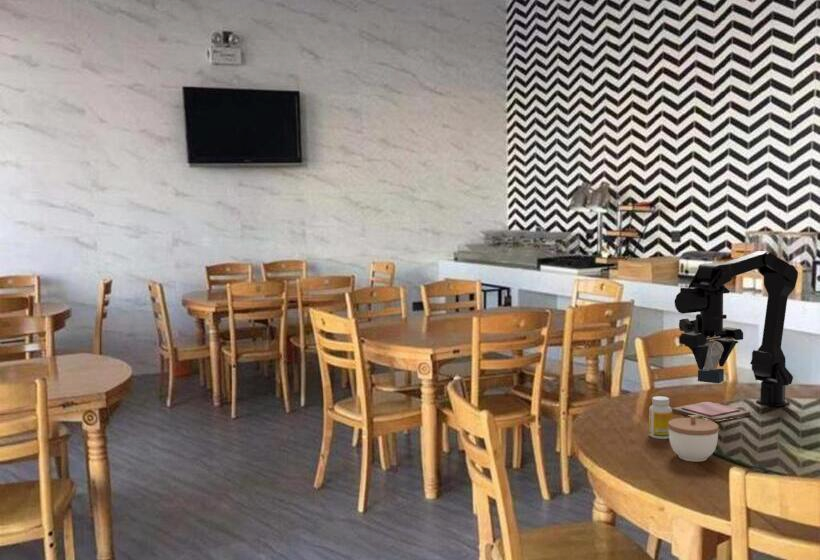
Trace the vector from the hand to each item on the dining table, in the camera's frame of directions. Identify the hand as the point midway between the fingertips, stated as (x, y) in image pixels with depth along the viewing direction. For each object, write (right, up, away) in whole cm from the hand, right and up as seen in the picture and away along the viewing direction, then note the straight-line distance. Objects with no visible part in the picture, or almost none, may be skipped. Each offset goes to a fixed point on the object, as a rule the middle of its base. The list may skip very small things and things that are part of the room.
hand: (711, 368), depth 213 cm
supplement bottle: (-20, -15, -19) cm, 31 cm away
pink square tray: (0, -13, +1) cm, 13 cm away
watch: (0, -4, 0) cm, 4 cm away
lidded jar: (-18, -16, -35) cm, 43 cm away
